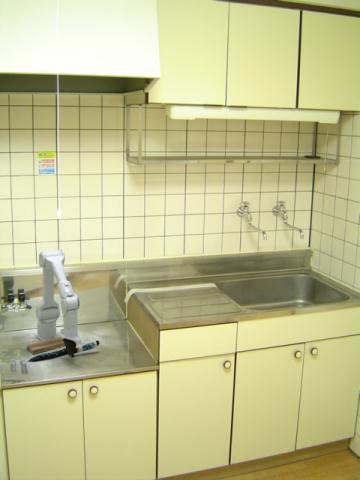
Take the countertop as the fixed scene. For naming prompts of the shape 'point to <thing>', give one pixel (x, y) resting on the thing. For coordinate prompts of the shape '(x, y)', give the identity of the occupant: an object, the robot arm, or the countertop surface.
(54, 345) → the walnut board
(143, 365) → the countertop surface
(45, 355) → the knife
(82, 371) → the countertop surface
